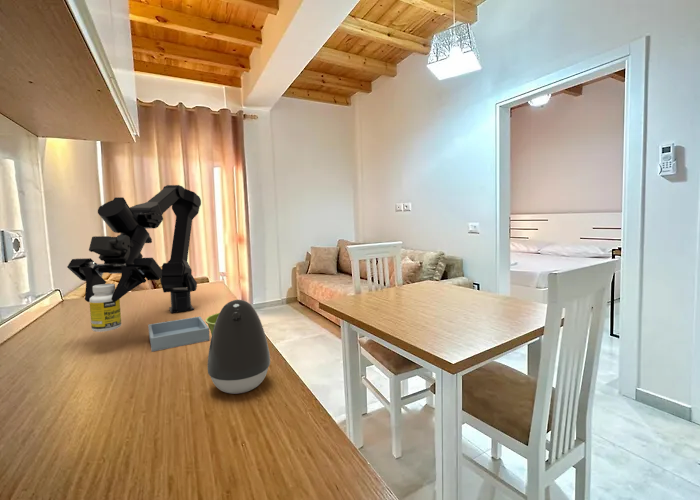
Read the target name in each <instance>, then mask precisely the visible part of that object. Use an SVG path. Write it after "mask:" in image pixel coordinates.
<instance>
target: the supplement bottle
mask: <svg viewBox="0 0 700 500" xmlns="http://www.w3.org/2000/svg"><path fill="white" fill-rule="evenodd" d="M115 289H116V285H115V283H105V284H100V285H95V286H93V293H94V295H93V296H92V297H91V298H90V302H89V312H90V323H91V330H92V331H93V332H100V333H101V332H102V333H103V332H108V331H113V330H115V329H116V330H117V329H119V328H120V327H121V326H122V315H121V312H122V311H121V298H120V299H118V300H117V301H116V302H114V301H112V296H113V293H114V291H115Z"/></svg>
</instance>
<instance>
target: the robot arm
mask: <svg viewBox="0 0 700 500" xmlns="http://www.w3.org/2000/svg"><path fill="white" fill-rule="evenodd" d="M201 205H202V199H201V197H200V196H199V195H198V194H197V193H196V192H194V191H192V190H189V189H188V188H185V187H184V186H182V185H180V184H167V185H164V186H163V188H162V189H161V190H160V191H159V192H157V193H156V194H155V195H153V197H150V199H149V200H148V201H146V202H142V203H138V204H134V205H133V206H129V204H128V203H127V201H126V199H125V198H124V196H123V197H118V196H117V197H113V200H110V201H107V202H105V203H104V204H102V205H100V206H99V207H98V209H97V214H98V215H99V216H100V218H101V219H102V221H104V223H105V224H106V225H107V227H109V229H110V230H111V231H112V232H113V233H115V234H119V235H117V236H108V235H106V236H101V235H99V236H96V235H95V236H92V237H91V240H90V245H89V248H88V251H89V252H91V253H95V254H98V255H99V256H98V259H99V260H100V261H101V262H104V263H97V262H95V261H94V260H93V259H92V258H90V257H89V258H83V257H82V258H71V260H70V262H69V263H68V265H67V266H66V268H68V270H70V272H72V274H73V275H75V276H76V277H77V278H78V279H80V280H81V281H84V282H85V293H84V301H85V302H88V303H90V298H91V297H92V296H93V295H94V293H93V286H95V285H100V284H107V281H106V280H105V279H104V278H103V274H112V275H113V274H120V275H121V276H120V279H119V280H118V283H117V285H116V286H115V291H114V293H113V296H112V301H114V302H116V301H117V300H118V299H120V300H121V298H122V297H124V296H125V295H127V294H128V293H129V292H130V291H132V290H133V289H135V288H137V287H138V286H140V285H141V284H145V283H146V282H147V281H159V280H160V284H161V288H162V289H161V290H162V292H163V293H165V294H166V293H170V307H169V308H168V309H169V312H170V313H171V314H175V313H181V312H189V311H194V310H195V308H194V307H193V305H192V295H191V292H195V291H197V287H198V282H197V280H196V279H195V278H194V276H193V275H192V273H193V271H192V268H191V266H190V264H189V263H188V256H189V250H190V249H189V248H190V241H191V233H192V224H193V220H194V219H195V218H196V216H197V215H198V214H199V212H200V207H201ZM170 208H171V210H172V212H173V213H174V215H175V221H174V222H175V223H174V224H175V225H174V229H173V237H172V243H171V251H170V252H171V253H170V259H169V260H168V261H167V262H163V263H162V266H160V265H159V264H158V263H157V262H156V260H155V258H154V257H144V255H143V254H142V250H143V248H144V246H145V244H151V243H153V239H152V237H151V235H150V233H149V232H148V230H147V229H157V228H159V226H160V225H161V223H162V222H163V221H164V217H163V215H164V213H165V212H166V211H168V210H169V209H170Z"/></svg>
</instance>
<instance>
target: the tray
mask: <svg viewBox="0 0 700 500" xmlns="http://www.w3.org/2000/svg"><path fill="white" fill-rule="evenodd" d="M147 327H148V339H149V344H150V350H151V352H157V351H161V350H167V349H172V348H178V347H182V346H187V345H192V344H193V345H194V344H197V343H203V342H207V341H211V338H210V329H209V326H208V324H207V323H206V321H204V320H203V318H202V317H201V316H194V317H189V318H188V317H187V318H181V319H175V320H169V321H163V322H161V321H160V322H157V323H156V322H155V323H151V324H148V325H147Z"/></svg>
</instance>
